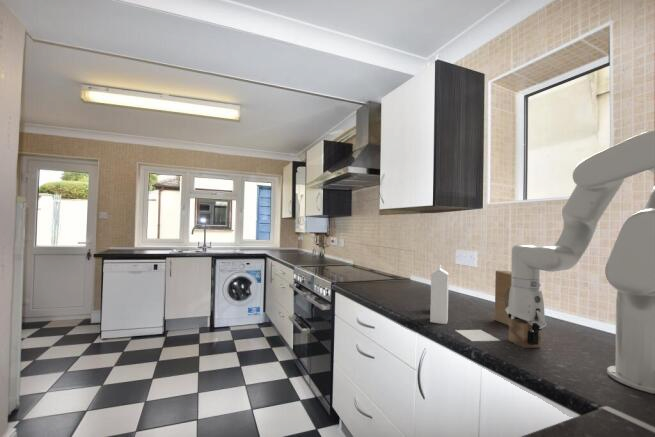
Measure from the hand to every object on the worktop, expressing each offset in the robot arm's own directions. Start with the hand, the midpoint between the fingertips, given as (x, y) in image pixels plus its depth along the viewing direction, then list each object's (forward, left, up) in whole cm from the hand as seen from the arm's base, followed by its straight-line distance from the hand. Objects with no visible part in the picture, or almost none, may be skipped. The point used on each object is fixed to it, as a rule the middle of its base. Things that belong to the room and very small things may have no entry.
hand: (524, 339), depth 95 cm
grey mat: (+8, +11, -2) cm, 14 cm away
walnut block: (0, 0, -1) cm, 1 cm away
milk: (+24, +16, -2) cm, 29 cm away
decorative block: (+19, -11, -2) cm, 22 cm away
